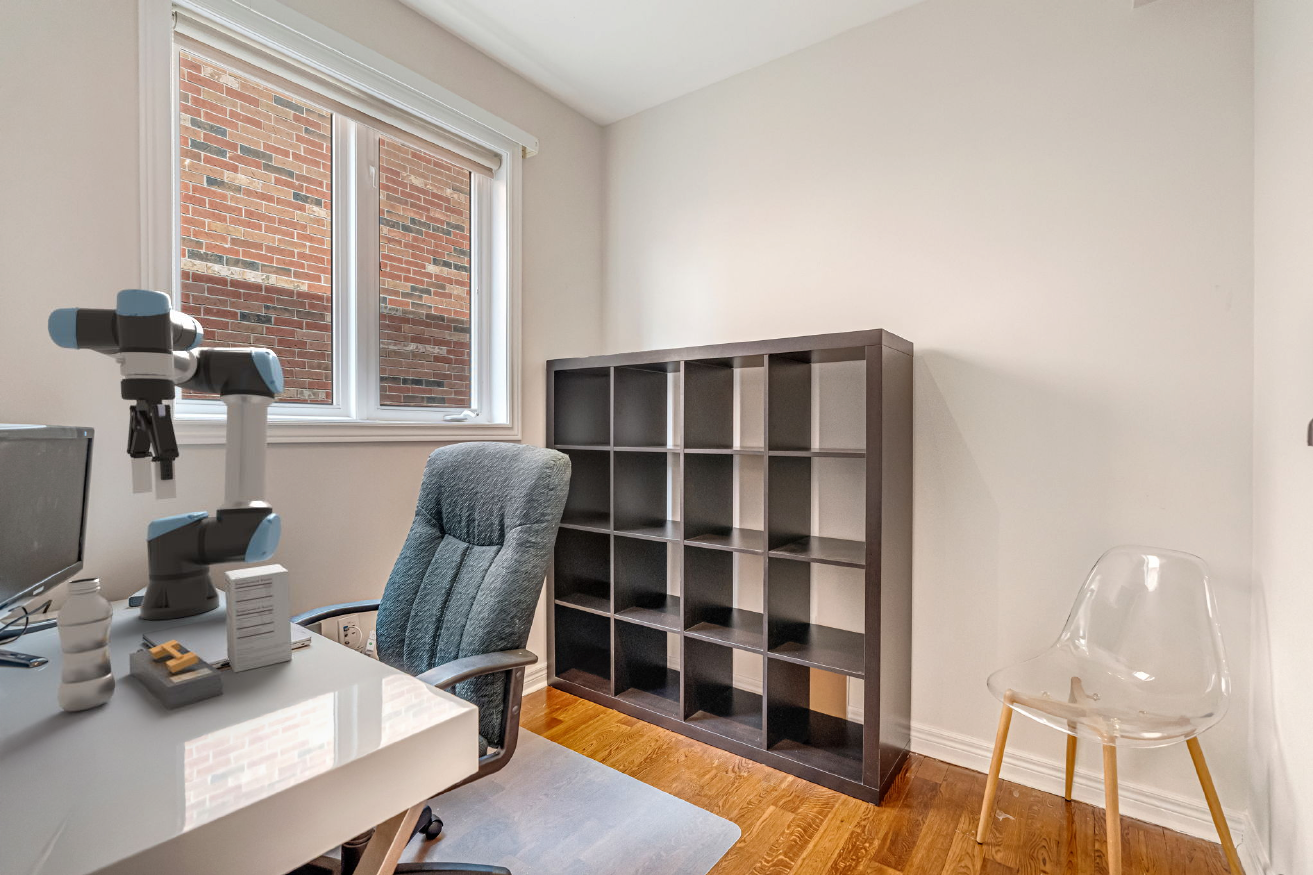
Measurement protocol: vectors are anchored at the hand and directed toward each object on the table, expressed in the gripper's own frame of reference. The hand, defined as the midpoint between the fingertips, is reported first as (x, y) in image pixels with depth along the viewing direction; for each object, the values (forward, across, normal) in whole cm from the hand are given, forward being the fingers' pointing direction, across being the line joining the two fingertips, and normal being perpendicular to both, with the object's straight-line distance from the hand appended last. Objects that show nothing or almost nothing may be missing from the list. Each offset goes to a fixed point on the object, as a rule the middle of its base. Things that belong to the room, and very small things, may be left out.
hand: (154, 495), depth 112 cm
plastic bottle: (+31, +11, -12) cm, 35 cm away
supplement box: (+32, +12, +12) cm, 36 cm away
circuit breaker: (+31, +6, -1) cm, 32 cm away
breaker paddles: (+26, +11, -1) cm, 29 cm away
